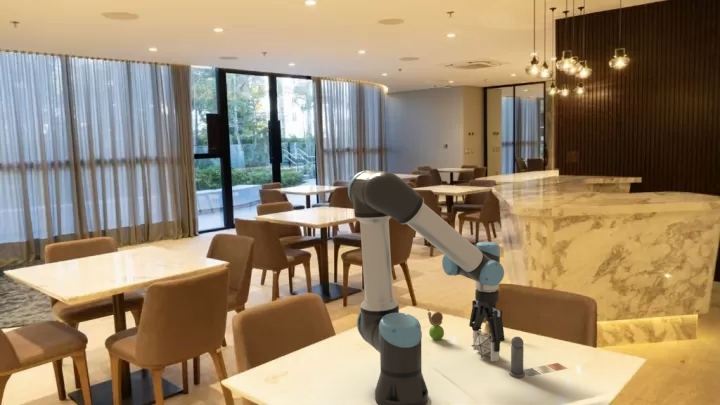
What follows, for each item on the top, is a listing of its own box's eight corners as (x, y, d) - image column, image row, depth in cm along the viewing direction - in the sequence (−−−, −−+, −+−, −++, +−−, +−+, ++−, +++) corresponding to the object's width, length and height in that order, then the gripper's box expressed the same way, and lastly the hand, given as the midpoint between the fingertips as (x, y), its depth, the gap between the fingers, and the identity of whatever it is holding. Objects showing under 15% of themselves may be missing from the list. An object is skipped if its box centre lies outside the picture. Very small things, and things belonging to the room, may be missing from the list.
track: (515, 384, 161) (515, 381, 161) (501, 375, 168) (501, 372, 168) (572, 372, 168) (572, 369, 168) (556, 364, 175) (556, 361, 175)
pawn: (515, 379, 162) (515, 340, 161) (506, 373, 167) (506, 335, 165) (528, 376, 164) (528, 338, 163) (518, 370, 168) (518, 333, 167)
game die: (490, 367, 179) (501, 351, 172) (466, 357, 180) (476, 340, 174) (494, 347, 185) (505, 330, 179) (471, 337, 187) (481, 320, 180)
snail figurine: (424, 338, 200) (423, 307, 199) (438, 335, 203) (438, 304, 202) (432, 343, 196) (431, 311, 194) (447, 340, 198) (446, 308, 197)
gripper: (517, 296, 169) (515, 365, 171) (478, 280, 189) (477, 342, 192) (497, 299, 166) (495, 369, 168) (459, 282, 187) (458, 344, 189)
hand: (485, 354), depth 180 cm, fingers closed on game die, 10 cm apart
